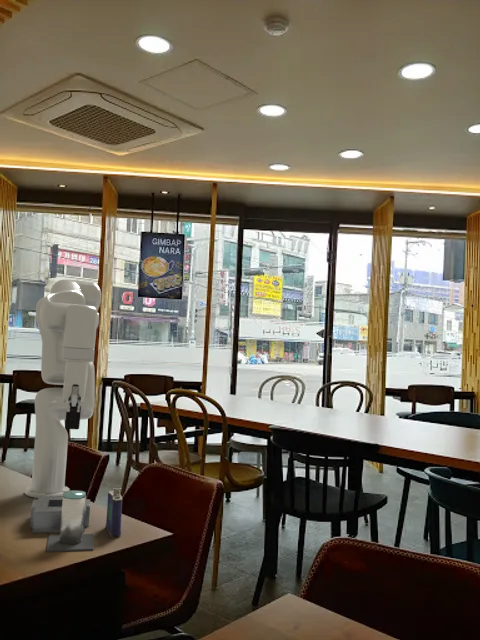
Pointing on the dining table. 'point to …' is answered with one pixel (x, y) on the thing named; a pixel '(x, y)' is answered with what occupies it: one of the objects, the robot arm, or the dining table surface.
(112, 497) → the flask
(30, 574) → the dining table surface
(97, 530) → the dining table surface
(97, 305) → the robot arm
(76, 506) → the light piece
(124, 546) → the dining table surface
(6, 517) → the dining table surface
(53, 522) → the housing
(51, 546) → the mat
